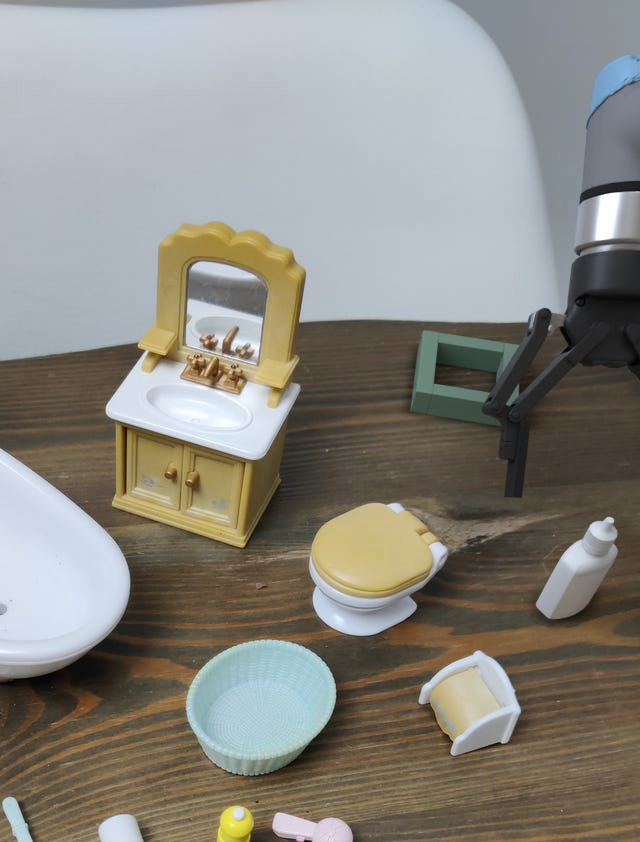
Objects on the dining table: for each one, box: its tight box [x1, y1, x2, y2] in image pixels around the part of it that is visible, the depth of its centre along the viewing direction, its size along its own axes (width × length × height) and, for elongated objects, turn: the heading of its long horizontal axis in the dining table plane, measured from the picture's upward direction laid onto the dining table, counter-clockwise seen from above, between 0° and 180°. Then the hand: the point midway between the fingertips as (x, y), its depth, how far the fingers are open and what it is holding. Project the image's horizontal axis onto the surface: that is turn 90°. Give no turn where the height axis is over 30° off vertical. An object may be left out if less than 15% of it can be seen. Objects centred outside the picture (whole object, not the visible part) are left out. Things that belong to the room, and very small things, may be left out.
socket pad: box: [409, 329, 520, 427], centre depth 111 cm, size 11×11×4 cm
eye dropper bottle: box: [535, 516, 619, 620], centre depth 89 cm, size 4×6×12 cm
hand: (588, 502), depth 89 cm, fingers open, 13 cm apart
